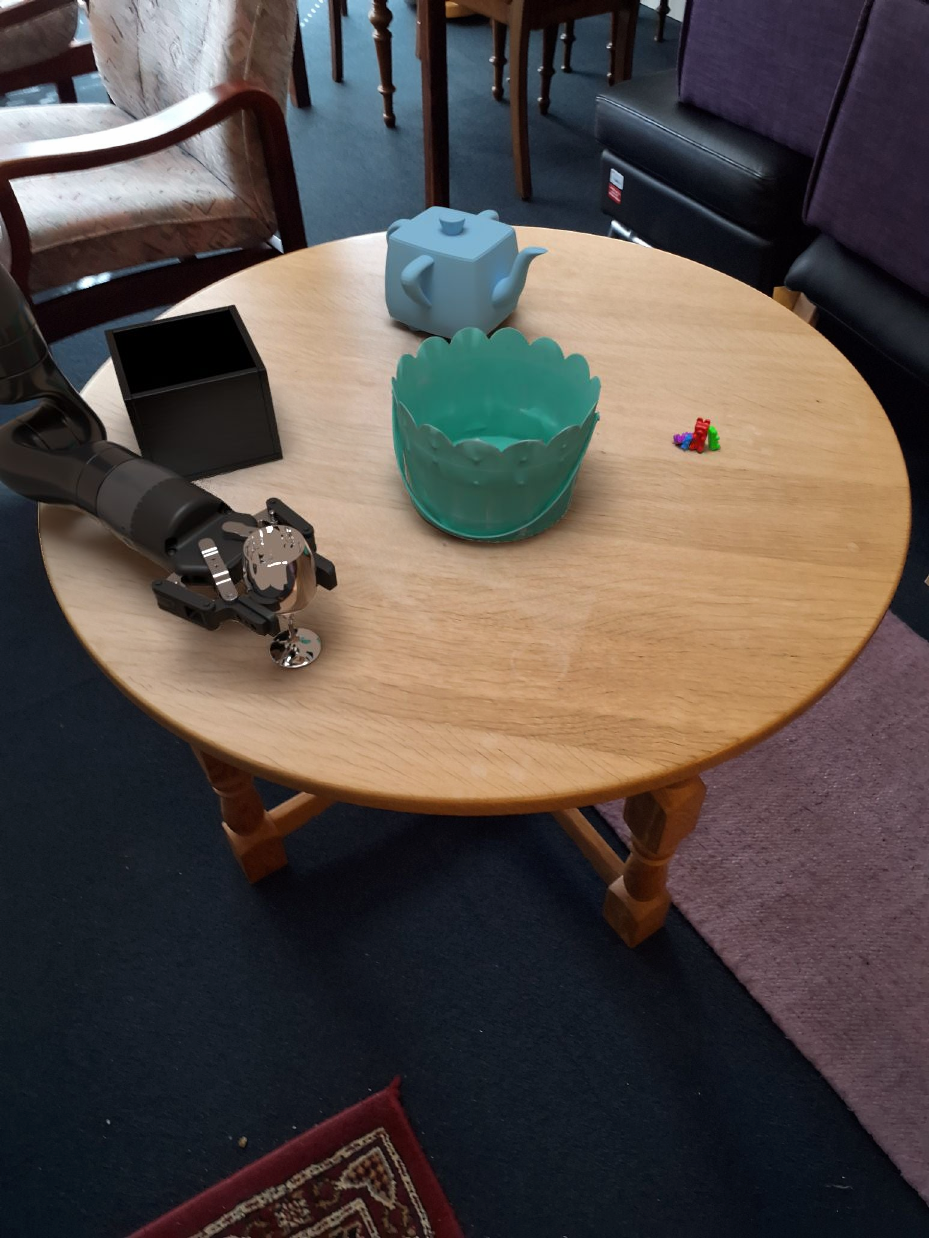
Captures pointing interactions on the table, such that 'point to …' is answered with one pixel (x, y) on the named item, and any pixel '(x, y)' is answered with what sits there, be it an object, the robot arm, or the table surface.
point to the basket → (492, 432)
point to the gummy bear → (699, 437)
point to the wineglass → (283, 588)
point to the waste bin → (196, 393)
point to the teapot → (454, 271)
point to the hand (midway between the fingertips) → (305, 603)
